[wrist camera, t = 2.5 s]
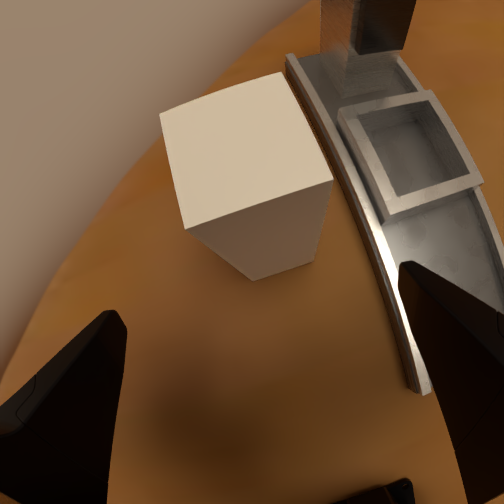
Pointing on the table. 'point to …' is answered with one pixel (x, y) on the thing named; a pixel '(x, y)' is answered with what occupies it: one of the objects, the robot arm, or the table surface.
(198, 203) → the white angular block
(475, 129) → the table surface
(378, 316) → the table surface
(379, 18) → the rail
